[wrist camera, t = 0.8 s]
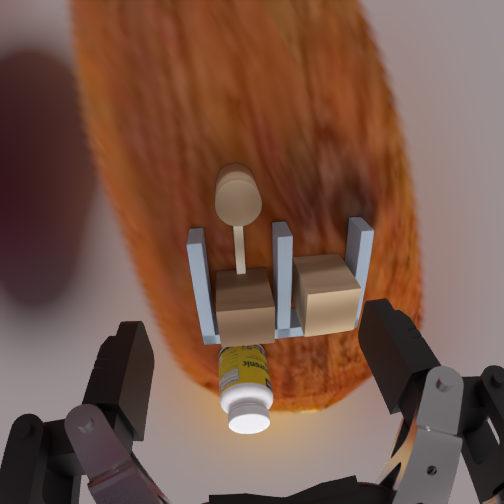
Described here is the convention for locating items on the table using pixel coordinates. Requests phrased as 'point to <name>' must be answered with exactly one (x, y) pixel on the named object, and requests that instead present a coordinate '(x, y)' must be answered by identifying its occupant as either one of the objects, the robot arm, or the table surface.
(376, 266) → the table surface
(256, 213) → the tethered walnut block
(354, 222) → the lane shelf
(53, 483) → the robot arm
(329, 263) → the oak block
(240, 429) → the supplement bottle
